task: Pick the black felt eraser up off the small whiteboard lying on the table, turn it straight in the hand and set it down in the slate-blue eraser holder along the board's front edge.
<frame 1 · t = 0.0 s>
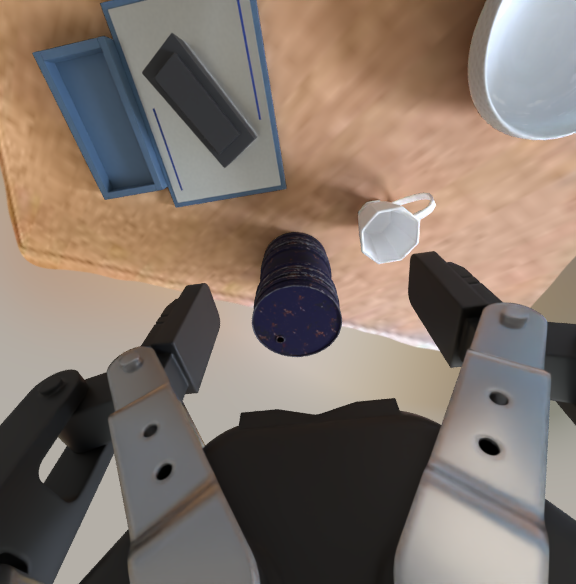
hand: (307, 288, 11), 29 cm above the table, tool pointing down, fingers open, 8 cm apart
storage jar: (295, 262, 43), on the table
eraser: (210, 108, 32), point 1 cm above the table, touching whiteboard
eraser holder: (116, 127, 34), on the table
cup: (382, 209, 39), on the table
whiteboard: (208, 109, 33), on the table
cereal bowl: (530, 44, 30), on the table
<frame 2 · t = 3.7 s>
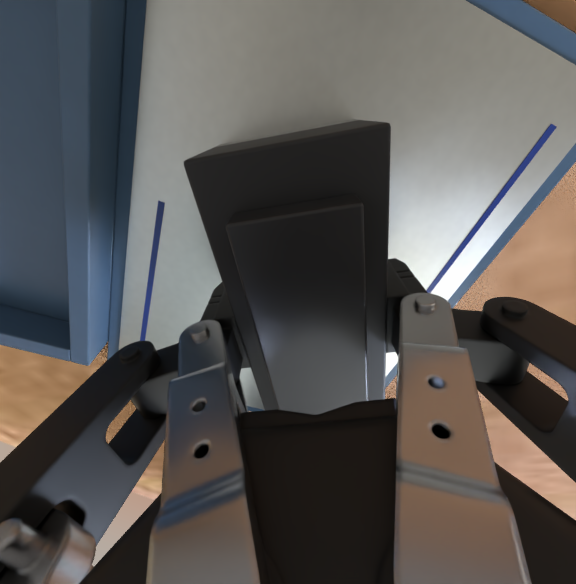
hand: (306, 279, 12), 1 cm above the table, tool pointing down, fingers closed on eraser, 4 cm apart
eraser: (307, 276, 12), point 1 cm above the table, touching gripper, whiteboard
eraser holder: (23, 166, 11), on the table
whiteboard: (295, 261, 13), on the table
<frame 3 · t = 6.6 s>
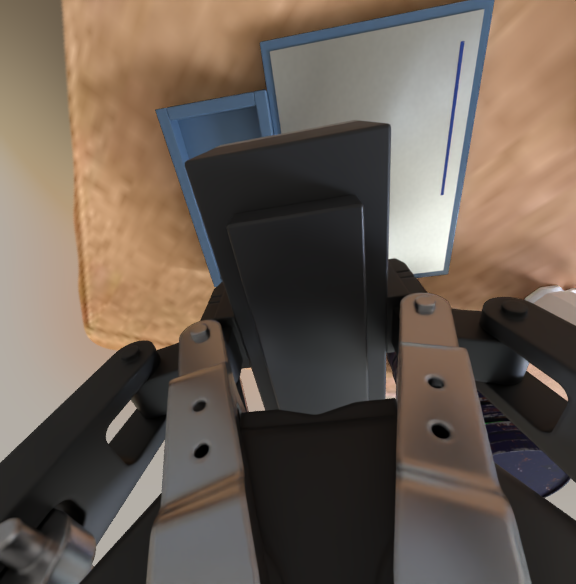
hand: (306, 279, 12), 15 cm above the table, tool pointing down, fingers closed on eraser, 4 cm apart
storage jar: (426, 348, 35), on the table
eraser: (307, 276, 12), point 15 cm above the table, touching gripper
eraser holder: (240, 198, 26), on the table
cup: (556, 295, 31), on the table
whiteboard: (369, 178, 24), on the table
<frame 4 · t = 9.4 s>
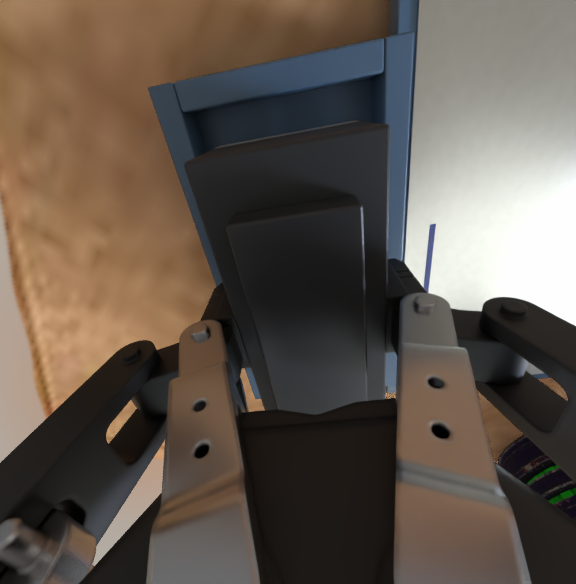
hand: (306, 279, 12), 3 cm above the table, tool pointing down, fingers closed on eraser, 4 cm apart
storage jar: (559, 451, 24), on the table
eraser: (307, 276, 12), point 2 cm above the table, touching gripper
eraser holder: (304, 253, 14), on the table
whiteboard: (551, 217, 13), on the table
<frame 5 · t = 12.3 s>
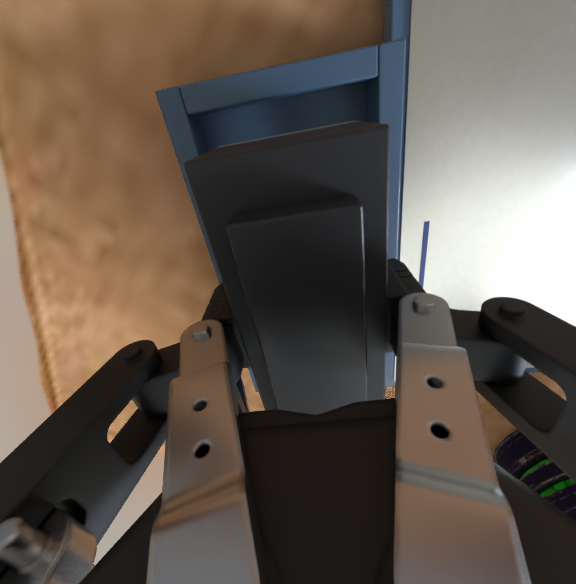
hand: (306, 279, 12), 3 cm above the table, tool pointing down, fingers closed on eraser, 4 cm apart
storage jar: (553, 445, 24), on the table
eraser: (307, 276, 12), point 3 cm above the table, touching gripper
eraser holder: (303, 250, 15), on the table
whiteboard: (541, 215, 14), on the table
when the fingers open (3 cm above the table, at t = 14.5 s): eraser drops 2 cm, resting on eraser holder.
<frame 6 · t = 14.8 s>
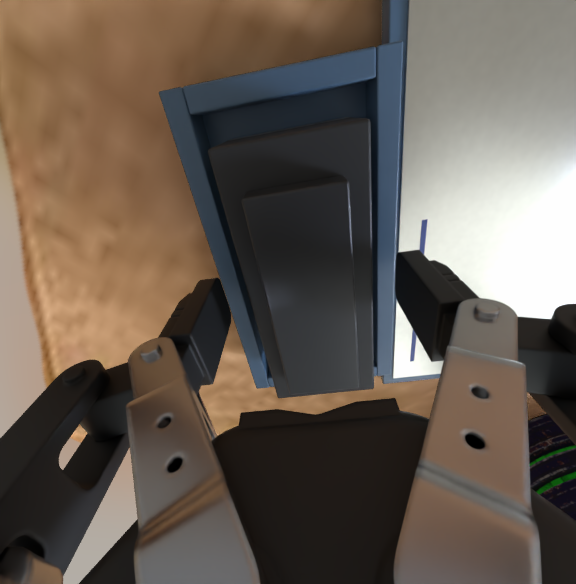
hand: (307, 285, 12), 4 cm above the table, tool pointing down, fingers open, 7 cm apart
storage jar: (551, 442, 24), on the table
eraser: (306, 255, 14), point 1 cm above the table, touching eraser holder
eraser holder: (303, 248, 15), on the table
whiteboard: (537, 213, 14), on the table
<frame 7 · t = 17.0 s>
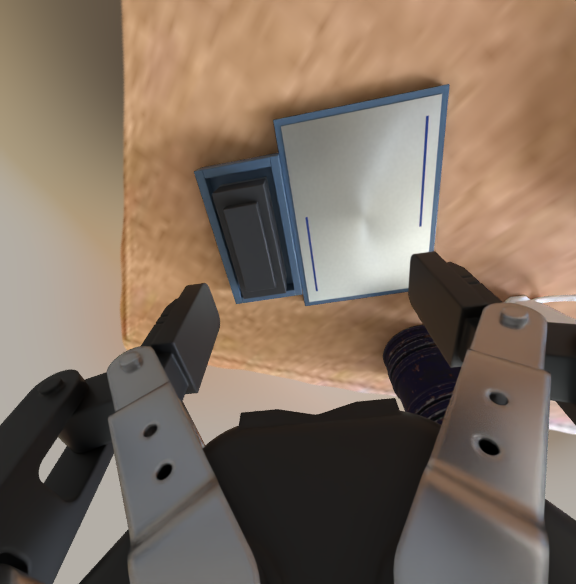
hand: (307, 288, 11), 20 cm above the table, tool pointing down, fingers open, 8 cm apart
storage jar: (417, 351, 40), on the table
eraser: (256, 234, 31), point 1 cm above the table, touching eraser holder
eraser holder: (256, 231, 31), on the table
cup: (525, 303, 36), on the table
whiteboard: (361, 214, 30), on the table
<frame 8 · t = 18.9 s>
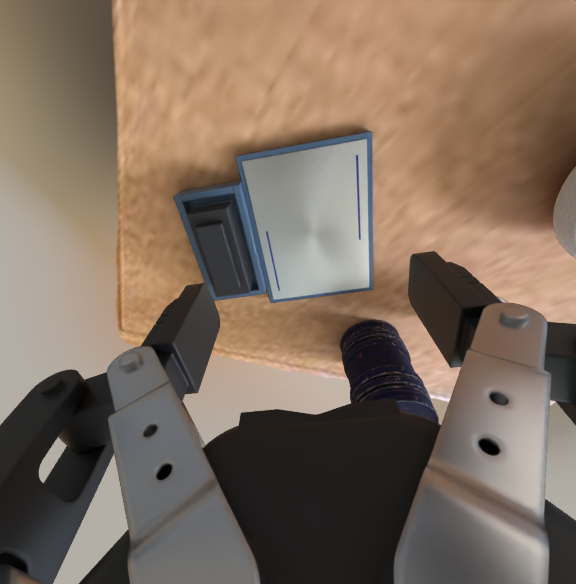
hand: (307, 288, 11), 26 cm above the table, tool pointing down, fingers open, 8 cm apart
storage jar: (369, 342, 48), on the table
eraser: (226, 244, 37), point 1 cm above the table, touching eraser holder
eraser holder: (227, 241, 38), on the table
whiteboard: (312, 228, 37), on the table
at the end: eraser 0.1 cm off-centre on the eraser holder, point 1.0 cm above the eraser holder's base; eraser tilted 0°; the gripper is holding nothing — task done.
